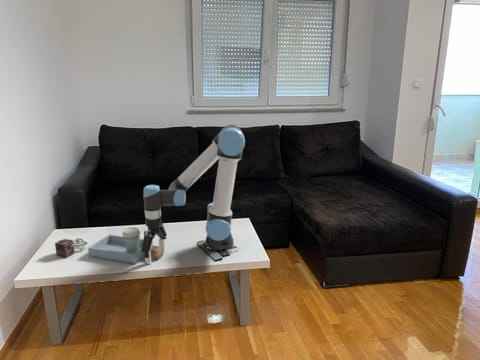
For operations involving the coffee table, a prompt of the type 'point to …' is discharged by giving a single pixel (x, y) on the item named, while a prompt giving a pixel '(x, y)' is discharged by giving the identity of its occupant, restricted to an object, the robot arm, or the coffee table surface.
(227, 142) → the robot arm
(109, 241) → the tray
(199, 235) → the coffee table surface
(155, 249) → the walnut cube
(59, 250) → the box
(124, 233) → the coffee cup
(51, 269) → the coffee table surface
